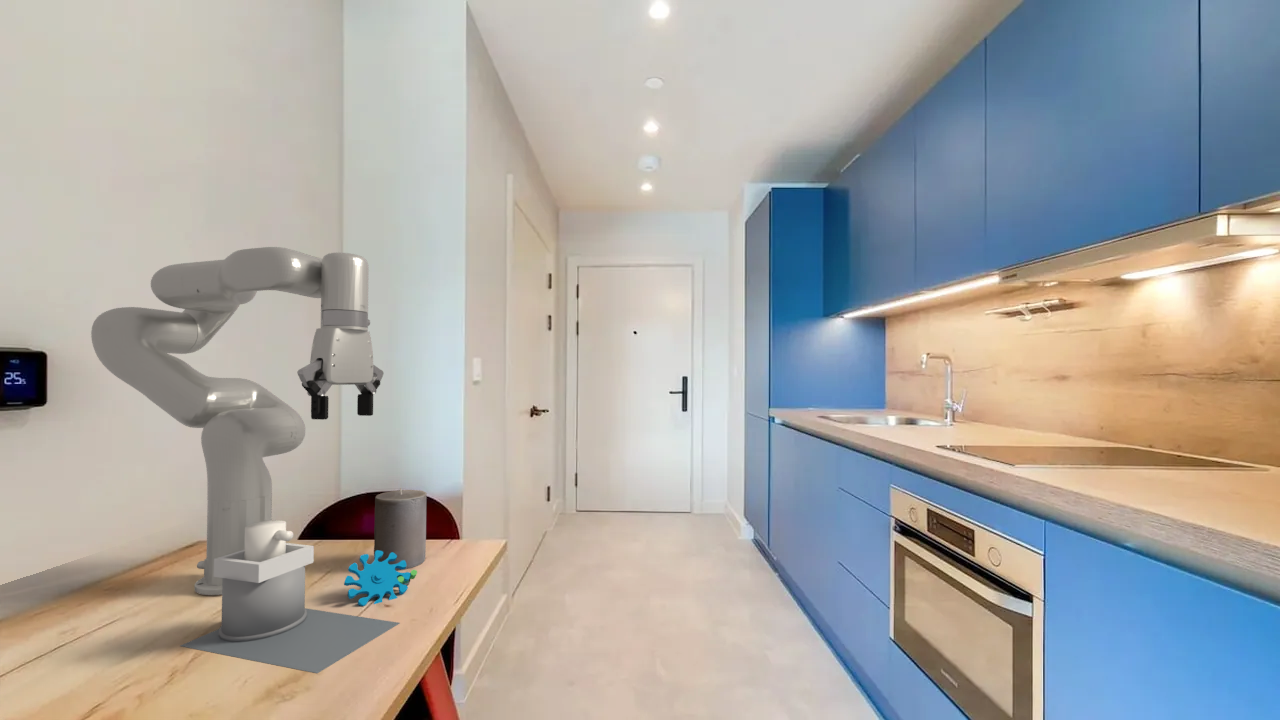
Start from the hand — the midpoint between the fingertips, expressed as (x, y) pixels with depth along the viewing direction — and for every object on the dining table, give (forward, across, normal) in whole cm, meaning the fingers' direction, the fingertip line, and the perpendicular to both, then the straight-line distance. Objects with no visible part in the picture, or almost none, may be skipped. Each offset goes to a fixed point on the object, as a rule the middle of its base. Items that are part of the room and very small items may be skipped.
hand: (343, 417), depth 96 cm
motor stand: (+30, +17, +10) cm, 36 cm away
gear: (+31, +2, +11) cm, 33 cm away
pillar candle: (+30, -14, +1) cm, 33 cm away
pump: (+21, +16, +3) cm, 27 cm away
